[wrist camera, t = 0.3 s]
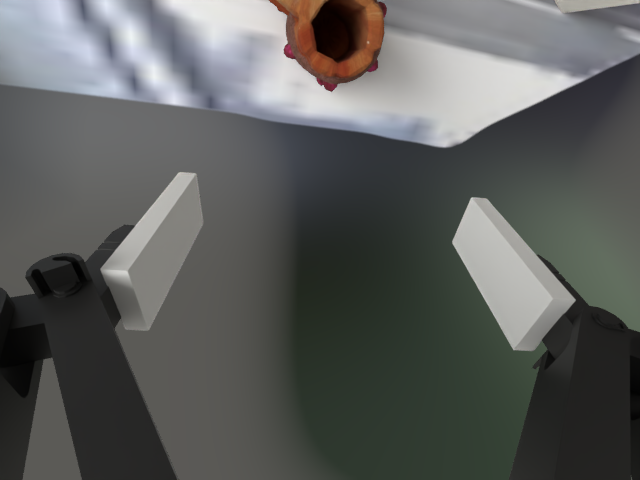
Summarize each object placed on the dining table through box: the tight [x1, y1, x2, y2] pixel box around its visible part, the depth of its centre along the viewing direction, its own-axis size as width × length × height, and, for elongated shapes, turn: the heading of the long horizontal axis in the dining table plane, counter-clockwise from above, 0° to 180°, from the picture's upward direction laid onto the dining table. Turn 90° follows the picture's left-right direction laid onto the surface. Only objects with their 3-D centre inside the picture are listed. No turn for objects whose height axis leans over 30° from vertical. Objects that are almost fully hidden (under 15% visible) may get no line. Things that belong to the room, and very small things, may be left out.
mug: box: [269, 0, 387, 92], centre depth 28 cm, size 15×8×15 cm, turn 53°
